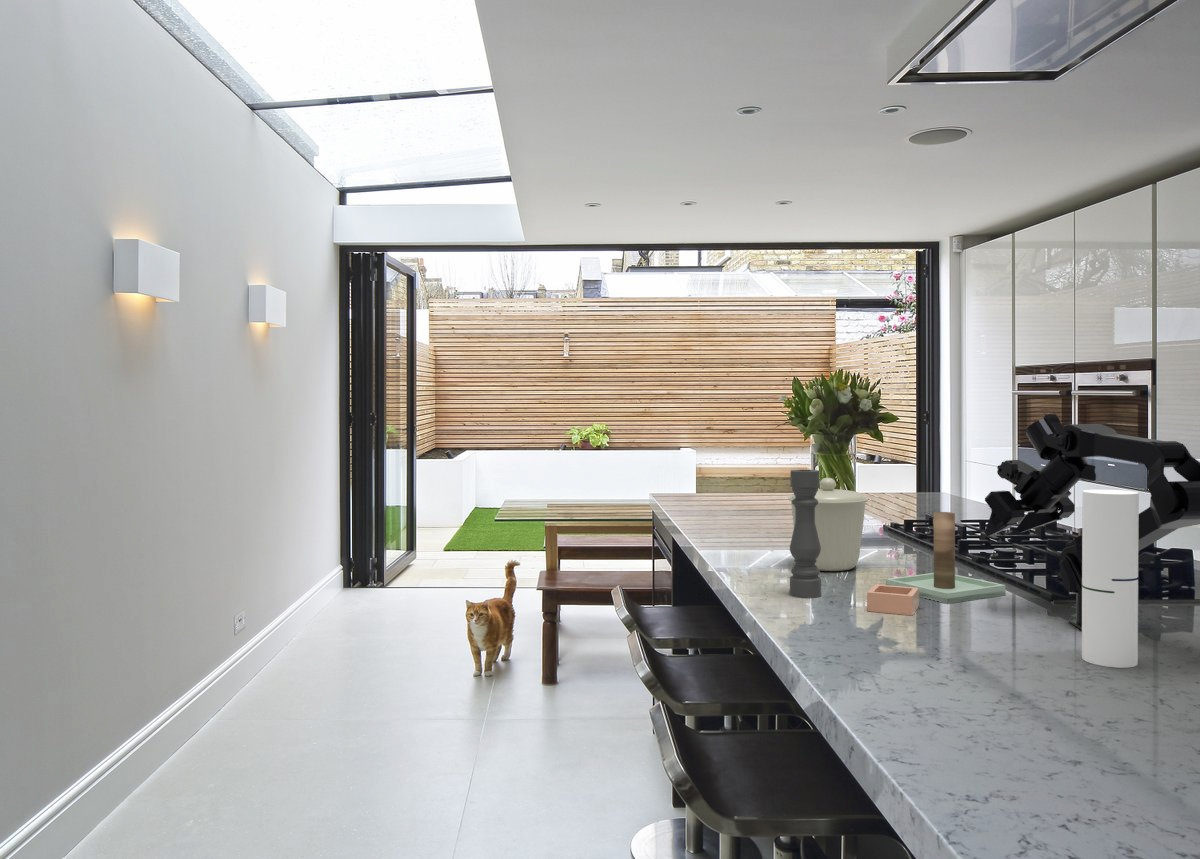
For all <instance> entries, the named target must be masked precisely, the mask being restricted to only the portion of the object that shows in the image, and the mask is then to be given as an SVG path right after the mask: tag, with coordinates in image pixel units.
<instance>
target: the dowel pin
mask: <svg viewBox="0 0 1200 859" xmlns="http://www.w3.org/2000/svg"><path fill="white" fill-rule="evenodd" d="M933 573H934V587H936V588H941V589H953V588H955V575H956V513H955V512H952V511H936V512H935V511H934V512H933Z"/></svg>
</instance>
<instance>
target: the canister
mask: <svg viewBox="0 0 1200 859" xmlns="http://www.w3.org/2000/svg"><path fill="white" fill-rule="evenodd" d="M819 487H820V488H818V491H817V493H816V495H815V499H817V500H818V505H816V507H815V525H816V529H817V533H818V538H819V542H820V546H821V551H820V554H819V556H818V558H817V559H816V560H817V561H816V563H815V565H816V566H817V568H818V569H819V570H820V572H844V571H849V570H852V569H854V568H855V567H856V566H857V564H858V562H859V560H860V559H859V558H860V553H861V547H862V539H863V529H864V521H865V511H866V503H867V502H868V501H869V498H868V497H866V496H864V495H863V494H862V493H860V492H858V491H854V490H848V489H836V481H835V479H834V478H832V477H824V478H822V479H821V480H819ZM793 499H795V495H794V493H793V494H792V495H790V496H788V500H789V501H790V503H791V514H792V522H793V527H794V526H795V507H794V505H793V504H792V500H793Z"/></svg>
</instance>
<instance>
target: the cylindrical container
mask: <svg viewBox="0 0 1200 859" xmlns="http://www.w3.org/2000/svg"><path fill="white" fill-rule="evenodd" d="M1139 493H1140V492H1139V491H1133V490H1123V489H1122V490H1120V489H1084V490H1082V516H1081V517H1082V518H1081V519H1082V523H1081V524H1082V525H1081V526H1082V534H1081V536H1082V585H1083V586H1082V630H1081V659H1082V660H1083V661H1085V662H1087V663H1090V664H1092V665H1096V666H1101V667H1108V668H1119V669H1124V668H1126V669H1127V668H1133V667H1134V668H1135V667H1137V666H1138V664H1139V662H1138V661H1139V658H1138V657H1139V656H1138V653H1139V652H1138V651H1139V643H1138V642H1139V635H1138V634H1139V551H1138V521H1139V513H1140V512H1139V510H1140V508H1139V501H1140V500H1139V498H1140V497H1139V496H1140V495H1139Z"/></svg>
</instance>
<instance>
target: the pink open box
mask: <svg viewBox="0 0 1200 859" xmlns="http://www.w3.org/2000/svg"><path fill="white" fill-rule="evenodd" d="M919 607H920V597H919V588H914V587H902V586H890V585H886V584H874V585H873V586H872V587H870V589H869V590H868V591H867V592H866V611H867V612H871V613H880V614H881V613H882V614H883V613H884V614H892V615H902V616H903V615H904V616H913V615H915V612H916V611H917V610H918V609H919Z"/></svg>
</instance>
